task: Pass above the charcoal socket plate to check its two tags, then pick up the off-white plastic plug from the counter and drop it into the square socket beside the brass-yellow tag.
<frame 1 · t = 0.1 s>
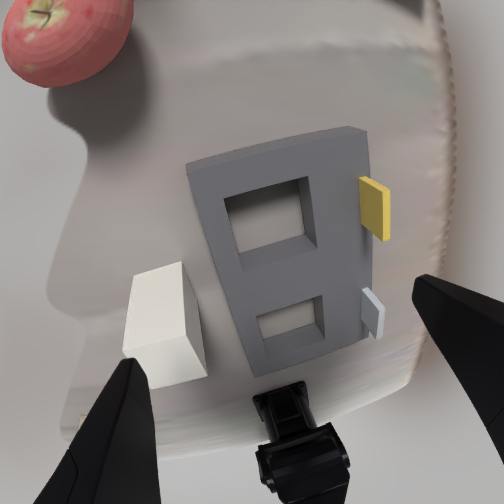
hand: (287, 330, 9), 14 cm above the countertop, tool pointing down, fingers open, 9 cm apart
apple: (88, 35, 14), on the countertop
socket plate: (293, 261, 25), on the countertop
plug: (166, 288, 24), on the countertop
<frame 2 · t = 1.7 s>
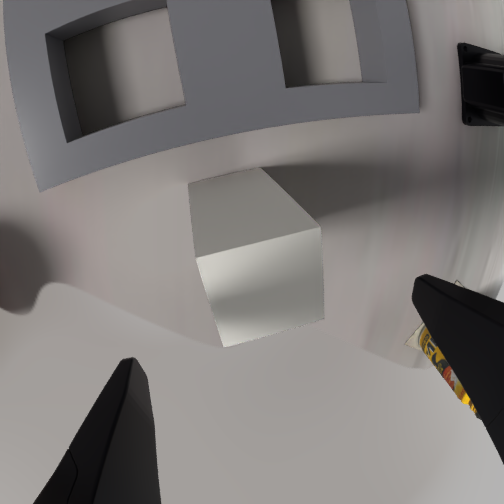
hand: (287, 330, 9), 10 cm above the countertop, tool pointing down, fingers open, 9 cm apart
condiment: (442, 319, 29), on the countertop
socket plate: (214, 19, 12), on the countertop
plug: (231, 208, 17), on the countertop
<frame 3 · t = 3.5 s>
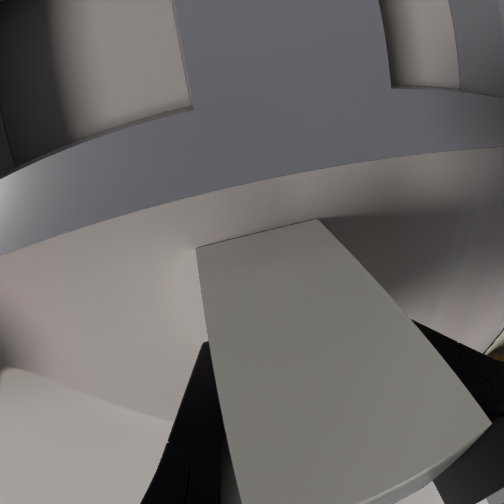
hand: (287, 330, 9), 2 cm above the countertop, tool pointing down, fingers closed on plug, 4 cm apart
condiment: (482, 364, 22), on the countertop
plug: (266, 283, 11), on the countertop, touching gripper
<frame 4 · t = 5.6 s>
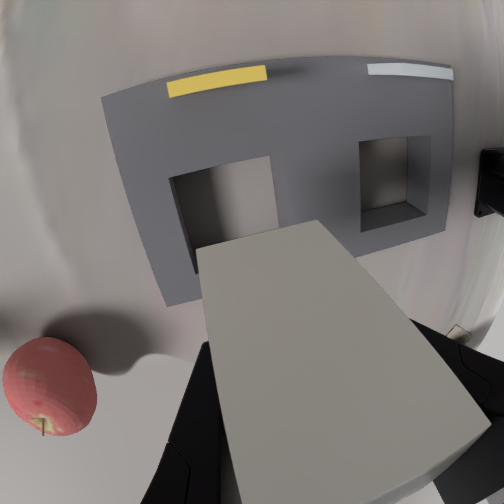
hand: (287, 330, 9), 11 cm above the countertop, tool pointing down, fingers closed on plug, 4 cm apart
apple: (60, 349, 21), on the countertop
socket plate: (306, 159, 18), on the countertop
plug: (266, 284, 11), point 8 cm above the countertop, touching gripper
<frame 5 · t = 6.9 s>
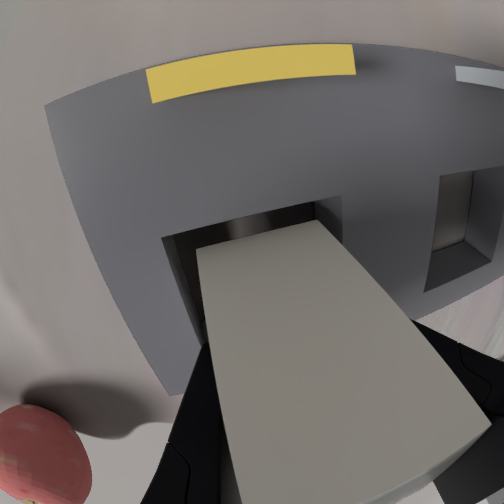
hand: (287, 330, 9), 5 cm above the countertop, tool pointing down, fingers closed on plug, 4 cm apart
apple: (45, 412, 15), on the countertop
socket plate: (361, 194, 12), on the countertop
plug: (266, 284, 11), point 2 cm above the countertop, touching gripper
when the fingers open (3 cm above the countertop, at t = 8.0 s): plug stays where it is, resting in socket plate.
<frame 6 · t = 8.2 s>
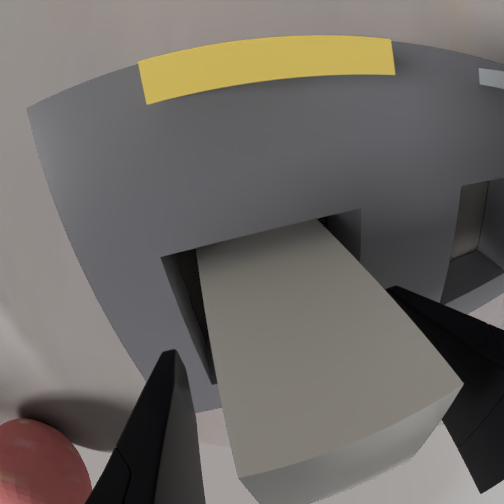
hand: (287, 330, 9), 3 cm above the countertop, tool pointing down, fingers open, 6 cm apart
apple: (43, 425, 14), on the countertop
socket plate: (376, 204, 11), on the countertop
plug: (259, 269, 12), resting in socket plate
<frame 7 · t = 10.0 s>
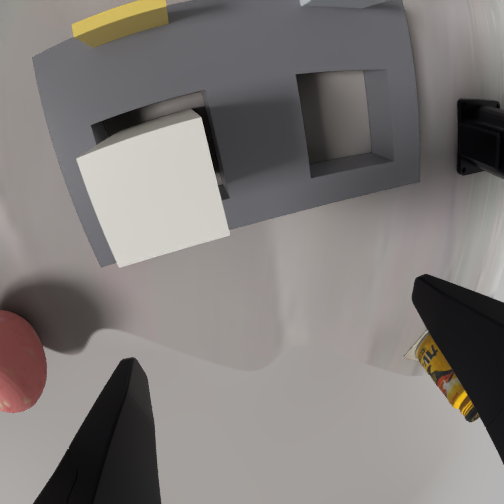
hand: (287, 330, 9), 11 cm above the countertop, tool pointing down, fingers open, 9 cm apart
apple: (17, 325, 19), on the countertop
condiment: (436, 334, 32), on the countertop
socket plate: (245, 104, 16), on the countertop
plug: (164, 152, 16), resting in socket plate
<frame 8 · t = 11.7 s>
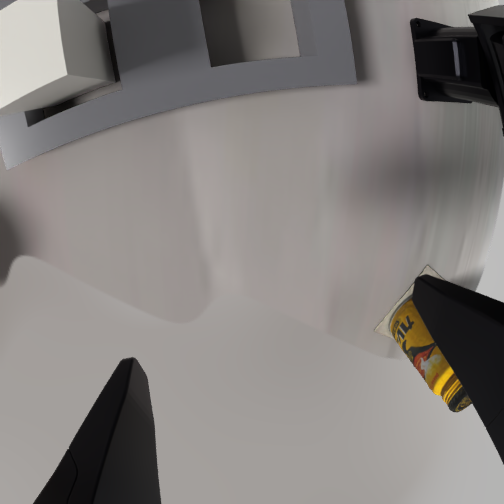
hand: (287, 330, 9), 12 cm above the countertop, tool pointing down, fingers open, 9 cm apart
condiment: (415, 306, 29), on the countertop
socket plate: (156, 13, 13), on the countertop
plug: (78, 63, 13), resting in socket plate
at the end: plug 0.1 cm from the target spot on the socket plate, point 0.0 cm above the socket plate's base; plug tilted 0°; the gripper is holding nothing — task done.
